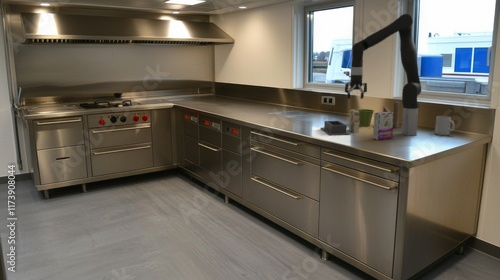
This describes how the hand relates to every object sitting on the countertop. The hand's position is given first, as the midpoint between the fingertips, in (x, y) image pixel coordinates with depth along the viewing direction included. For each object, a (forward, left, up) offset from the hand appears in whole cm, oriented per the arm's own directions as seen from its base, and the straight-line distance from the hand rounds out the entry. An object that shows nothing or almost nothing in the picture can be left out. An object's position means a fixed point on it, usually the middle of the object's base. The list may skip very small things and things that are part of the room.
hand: (355, 98), depth 263 cm
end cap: (0, +13, -22) cm, 26 cm away
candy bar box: (-25, -9, -22) cm, 35 cm away
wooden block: (+12, -31, -22) cm, 40 cm away
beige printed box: (0, 0, -22) cm, 22 cm away
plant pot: (+19, -15, -22) cm, 33 cm away
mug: (-18, -54, -22) cm, 61 cm away
